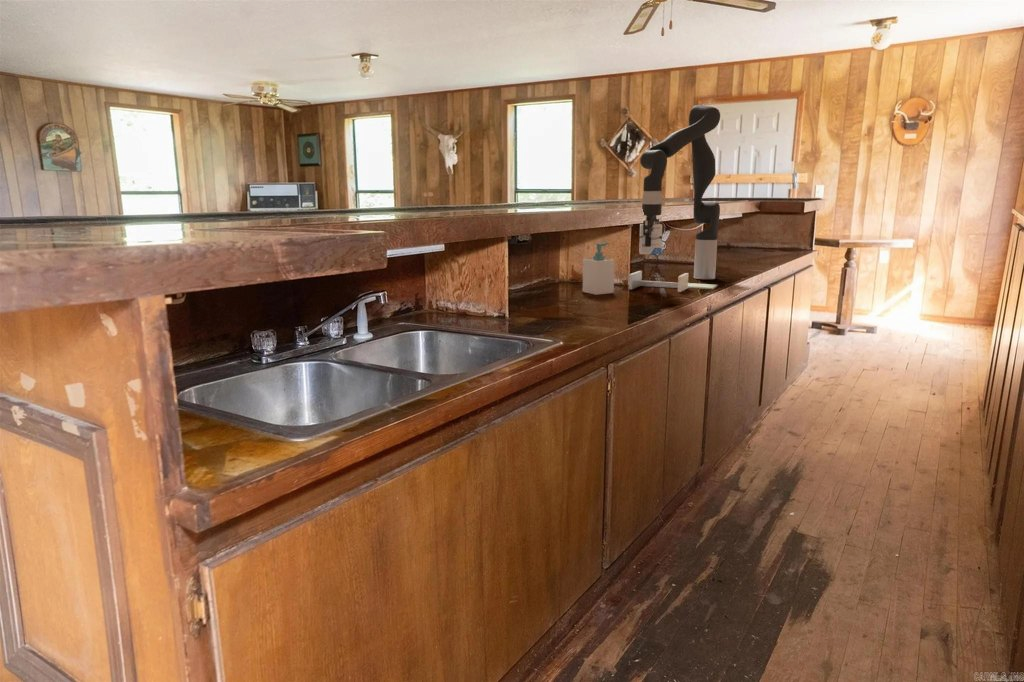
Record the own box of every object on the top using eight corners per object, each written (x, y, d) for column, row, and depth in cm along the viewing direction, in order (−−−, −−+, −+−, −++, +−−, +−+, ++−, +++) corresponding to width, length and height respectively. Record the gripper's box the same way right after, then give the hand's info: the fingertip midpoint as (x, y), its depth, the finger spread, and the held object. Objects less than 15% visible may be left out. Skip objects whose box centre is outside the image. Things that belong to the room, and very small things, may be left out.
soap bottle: (614, 293, 264) (615, 243, 259) (596, 294, 259) (597, 244, 255) (600, 290, 271) (601, 241, 267) (582, 292, 266) (583, 242, 262)
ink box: (660, 253, 275) (661, 223, 272) (661, 254, 270) (662, 224, 267) (638, 253, 276) (639, 223, 273) (639, 254, 271) (640, 224, 268)
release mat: (687, 284, 286) (688, 283, 286) (717, 286, 281) (717, 284, 280) (682, 287, 277) (682, 286, 277) (712, 289, 272) (712, 287, 272)
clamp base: (638, 285, 284) (638, 270, 283) (684, 287, 276) (684, 273, 275) (628, 289, 273) (628, 274, 271) (675, 292, 264) (676, 277, 263)
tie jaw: (684, 287, 274) (685, 272, 273) (687, 288, 274) (688, 273, 272) (677, 291, 264) (678, 276, 263) (680, 292, 263) (681, 276, 262)
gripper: (656, 203, 260) (654, 247, 264) (666, 202, 273) (664, 244, 277) (637, 203, 264) (635, 247, 267) (647, 202, 276) (646, 244, 280)
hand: (650, 245), depth 272 cm, fingers closed on ink box, 6 cm apart
